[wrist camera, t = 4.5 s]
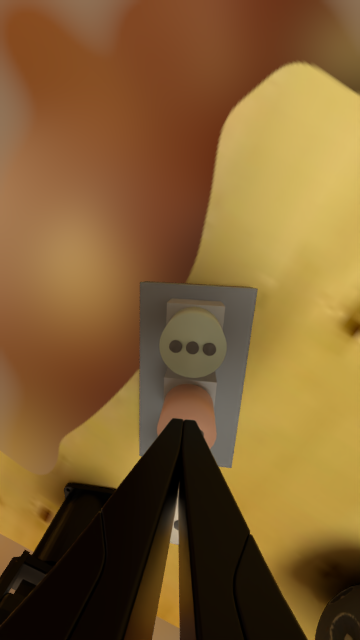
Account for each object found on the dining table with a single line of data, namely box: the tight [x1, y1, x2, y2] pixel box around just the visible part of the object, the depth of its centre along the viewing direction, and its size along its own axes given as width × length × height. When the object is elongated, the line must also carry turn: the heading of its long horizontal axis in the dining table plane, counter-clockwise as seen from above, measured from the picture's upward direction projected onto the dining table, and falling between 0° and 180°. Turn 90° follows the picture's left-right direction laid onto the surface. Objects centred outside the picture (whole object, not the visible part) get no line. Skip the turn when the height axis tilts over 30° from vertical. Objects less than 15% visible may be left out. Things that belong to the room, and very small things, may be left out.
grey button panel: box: [140, 281, 257, 468], centre depth 16 cm, size 9×17×4 cm, turn 177°
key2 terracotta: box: [157, 384, 217, 449], centre depth 14 cm, size 4×4×5 cm
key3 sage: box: [159, 307, 227, 378], centre depth 12 cm, size 4×4×5 cm
